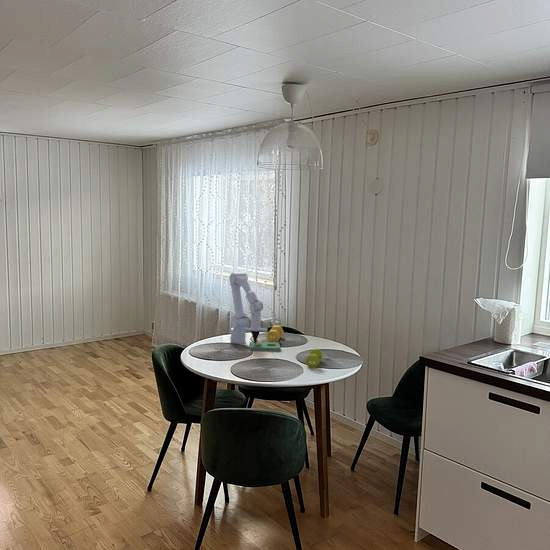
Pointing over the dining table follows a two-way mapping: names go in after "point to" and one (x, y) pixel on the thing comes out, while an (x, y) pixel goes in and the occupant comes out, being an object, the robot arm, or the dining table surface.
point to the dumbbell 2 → (274, 334)
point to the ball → (258, 341)
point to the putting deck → (265, 346)
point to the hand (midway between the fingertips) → (254, 343)
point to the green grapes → (314, 358)
